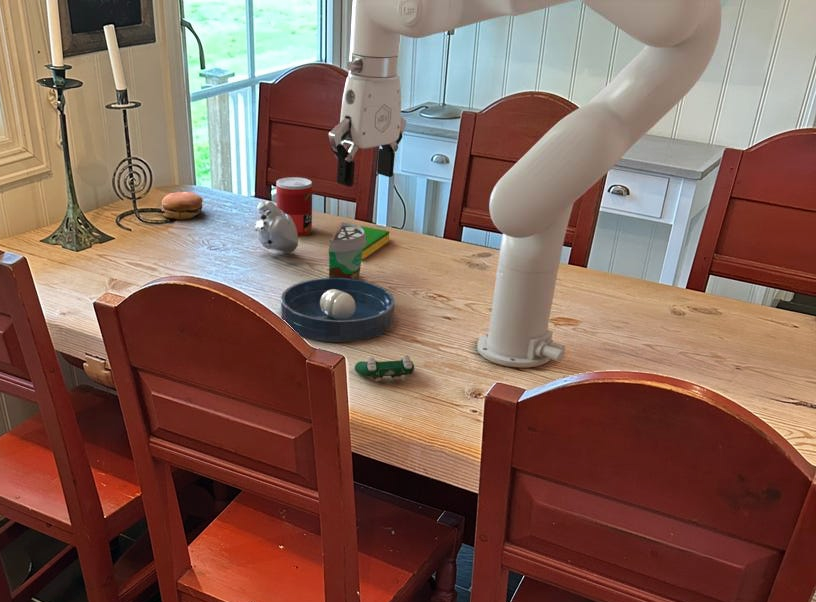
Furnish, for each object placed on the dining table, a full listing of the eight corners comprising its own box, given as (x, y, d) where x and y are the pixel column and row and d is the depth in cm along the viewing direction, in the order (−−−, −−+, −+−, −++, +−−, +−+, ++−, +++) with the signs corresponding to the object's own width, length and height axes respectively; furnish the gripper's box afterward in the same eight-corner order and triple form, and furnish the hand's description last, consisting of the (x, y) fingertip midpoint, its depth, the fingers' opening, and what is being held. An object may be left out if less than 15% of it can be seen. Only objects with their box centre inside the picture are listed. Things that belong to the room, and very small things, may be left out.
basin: (416, 320, 153) (417, 299, 151) (339, 354, 141) (340, 332, 139) (335, 289, 164) (335, 269, 162) (258, 318, 152) (257, 297, 150)
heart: (295, 266, 173) (298, 205, 168) (250, 261, 174) (252, 201, 169) (305, 258, 182) (308, 200, 177) (262, 254, 184) (264, 196, 179)
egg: (361, 319, 152) (362, 293, 149) (342, 327, 149) (342, 300, 146) (332, 308, 156) (333, 282, 153) (313, 316, 153) (314, 289, 150)
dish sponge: (332, 254, 181) (333, 243, 180) (360, 236, 191) (361, 225, 190) (362, 260, 178) (363, 248, 177) (389, 241, 189) (390, 230, 187)
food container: (358, 295, 162) (361, 243, 157) (327, 291, 163) (328, 240, 158) (369, 272, 172) (372, 223, 167) (340, 270, 173) (341, 221, 168)
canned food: (311, 237, 190) (311, 186, 184) (275, 236, 190) (275, 185, 184) (312, 226, 196) (313, 177, 190) (278, 225, 196) (277, 176, 190)
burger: (166, 221, 196) (164, 201, 194) (158, 210, 203) (156, 190, 201) (208, 218, 199) (207, 198, 197) (198, 207, 206) (197, 187, 204)
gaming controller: (355, 387, 135) (362, 376, 129) (353, 364, 136) (359, 352, 130) (411, 384, 137) (420, 372, 131) (409, 361, 137) (417, 349, 131)
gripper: (352, 76, 123) (345, 194, 133) (427, 66, 134) (415, 176, 144) (316, 67, 128) (312, 183, 138) (392, 58, 138) (383, 166, 148)
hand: (365, 179), depth 141 cm, fingers open, 9 cm apart
